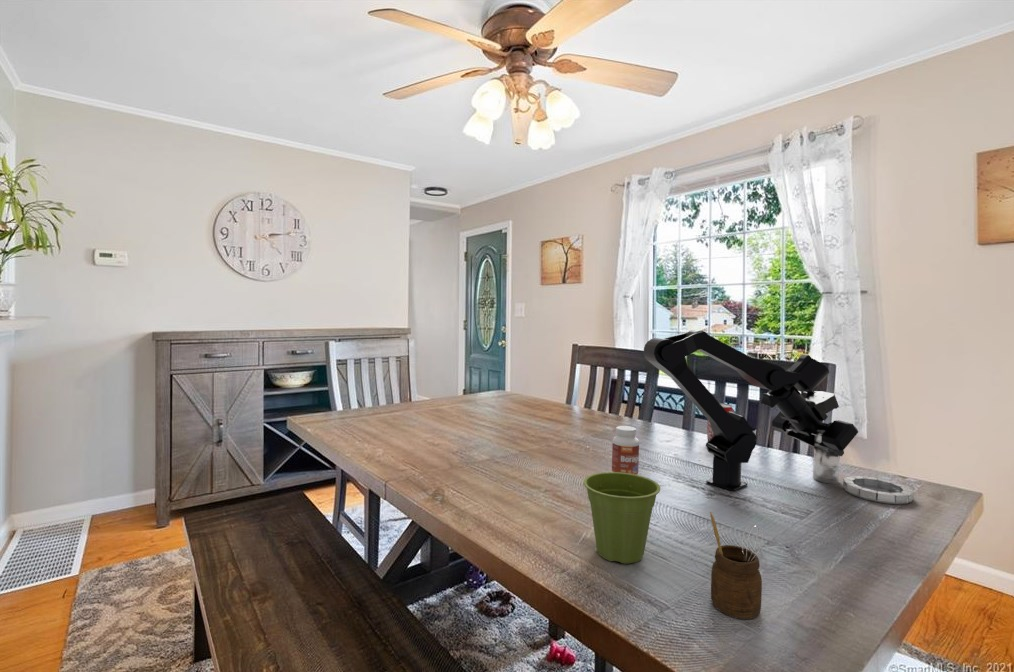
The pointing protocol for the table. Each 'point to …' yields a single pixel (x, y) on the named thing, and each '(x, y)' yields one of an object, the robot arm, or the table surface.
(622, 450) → the pill bottle
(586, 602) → the table surface
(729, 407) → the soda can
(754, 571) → the utensil holder
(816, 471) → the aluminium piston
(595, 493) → the plant pot
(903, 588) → the table surface
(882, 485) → the grey white ring
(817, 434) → the robot arm
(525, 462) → the table surface
